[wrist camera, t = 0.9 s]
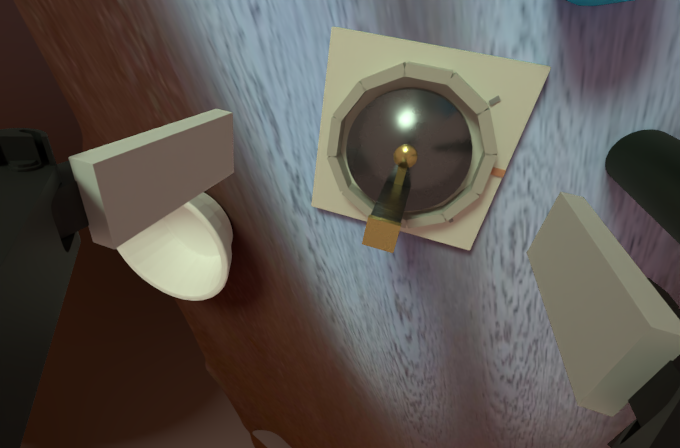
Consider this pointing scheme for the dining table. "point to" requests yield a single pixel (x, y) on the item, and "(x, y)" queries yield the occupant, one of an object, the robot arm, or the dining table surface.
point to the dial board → (441, 77)
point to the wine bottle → (650, 174)
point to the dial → (406, 157)
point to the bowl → (184, 250)
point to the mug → (595, 2)
